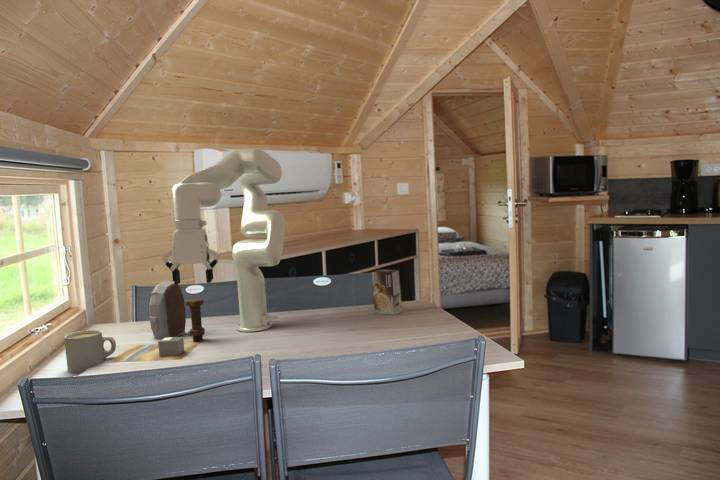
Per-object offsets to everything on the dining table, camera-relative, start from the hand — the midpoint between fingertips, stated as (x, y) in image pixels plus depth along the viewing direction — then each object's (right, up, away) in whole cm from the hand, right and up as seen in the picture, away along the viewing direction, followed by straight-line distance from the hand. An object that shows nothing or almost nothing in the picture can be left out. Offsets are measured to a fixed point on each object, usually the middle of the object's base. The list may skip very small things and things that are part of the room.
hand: (193, 282), depth 174 cm
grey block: (-7, -22, +2) cm, 23 cm away
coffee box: (+60, -15, +47) cm, 78 cm away
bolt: (-3, -22, +16) cm, 27 cm away
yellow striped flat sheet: (-13, -23, +6) cm, 27 cm away
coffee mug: (-30, -25, -1) cm, 39 cm away
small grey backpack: (-17, -21, +28) cm, 39 cm away
